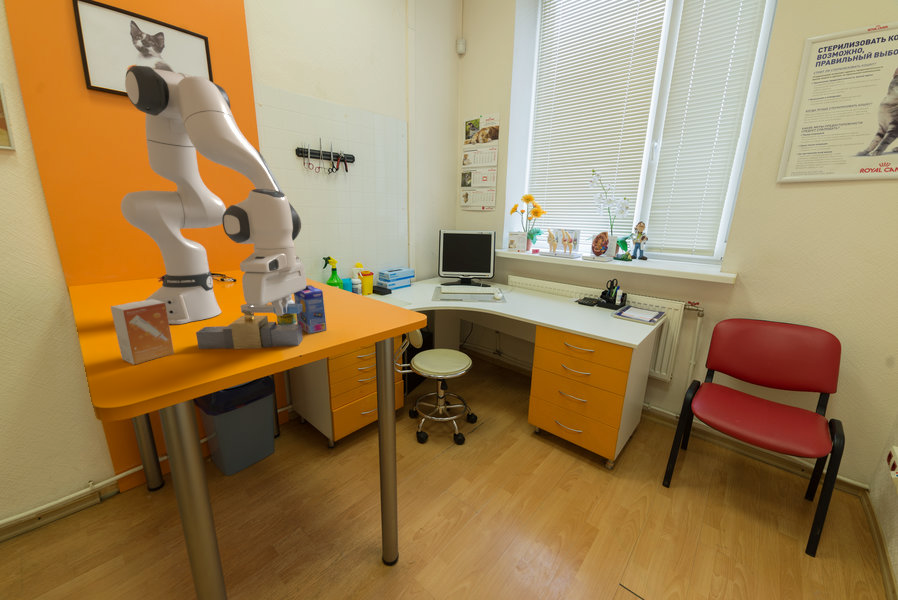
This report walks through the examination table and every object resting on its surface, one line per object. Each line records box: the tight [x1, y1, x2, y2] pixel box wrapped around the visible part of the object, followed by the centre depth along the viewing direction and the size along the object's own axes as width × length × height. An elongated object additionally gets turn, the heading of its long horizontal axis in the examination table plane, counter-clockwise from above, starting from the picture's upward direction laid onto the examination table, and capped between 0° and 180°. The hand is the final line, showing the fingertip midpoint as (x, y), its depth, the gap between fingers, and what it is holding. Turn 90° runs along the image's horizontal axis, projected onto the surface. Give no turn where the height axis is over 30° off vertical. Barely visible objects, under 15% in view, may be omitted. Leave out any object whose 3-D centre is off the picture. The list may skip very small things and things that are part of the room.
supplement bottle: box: [276, 294, 297, 325], centre depth 107 cm, size 5×5×10 cm
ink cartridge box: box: [293, 284, 328, 334], centre depth 104 cm, size 10×6×14 cm, turn 43°
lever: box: [240, 303, 302, 315], centre depth 91 cm, size 15×3×2 cm, turn 93°
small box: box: [110, 299, 175, 366], centre depth 83 cm, size 8×6×13 cm
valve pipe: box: [195, 313, 304, 350], centre depth 92 cm, size 24×6×9 cm, turn 98°
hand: (281, 314), depth 88 cm, fingers closed
